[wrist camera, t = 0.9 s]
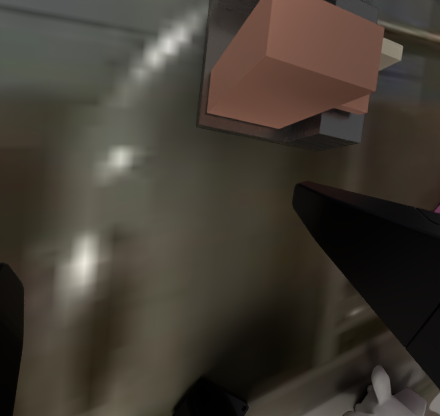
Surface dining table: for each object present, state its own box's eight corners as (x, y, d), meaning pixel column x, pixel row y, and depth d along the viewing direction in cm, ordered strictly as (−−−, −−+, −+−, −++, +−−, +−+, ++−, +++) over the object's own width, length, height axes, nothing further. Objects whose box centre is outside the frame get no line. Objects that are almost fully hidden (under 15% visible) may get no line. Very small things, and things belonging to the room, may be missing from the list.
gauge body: (316, 151, 27) (361, 142, 22) (195, 126, 23) (215, 108, 17) (331, 33, 26) (381, -5, 21) (211, -15, 22) (236, -77, 17)
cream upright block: (364, 77, 21) (401, 60, 18) (345, 71, 20) (380, 52, 17) (366, 65, 21) (403, 46, 18) (346, 58, 20) (382, 37, 17)
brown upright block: (318, 137, 25) (429, 109, 16) (206, 112, 22) (265, 55, 12) (323, 101, 25) (437, 51, 16) (211, 70, 21) (275, -22, 12)
